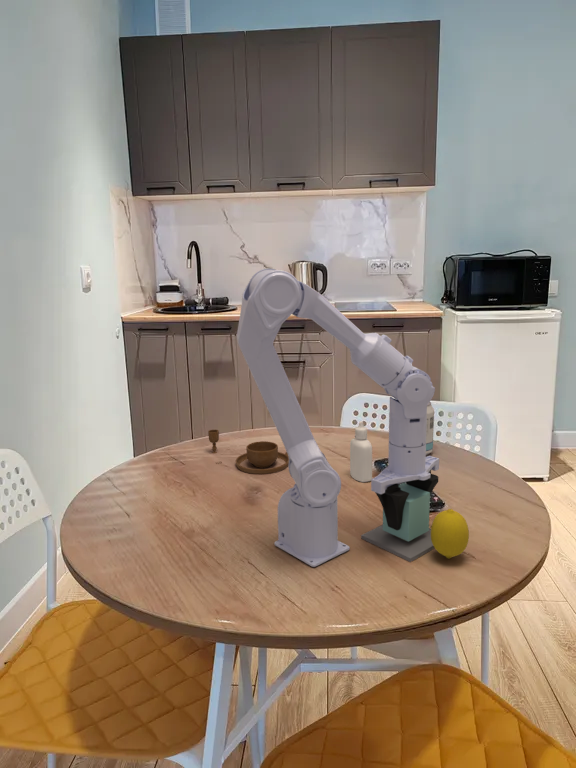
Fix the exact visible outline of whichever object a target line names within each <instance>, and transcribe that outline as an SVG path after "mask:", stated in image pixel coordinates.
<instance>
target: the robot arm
mask: <svg viewBox="0 0 576 768" xmlns="http://www.w3.org/2000/svg"><path fill="white" fill-rule="evenodd" d="M241 295H242V296H241V297H242V298H241V307H240V313H239V321H238V324H237V332H236V341H237V345H238V347H239V349H240V351H241V353H242V357H243V359H244V360H245V363H246V366H247V367H248V369H249V371H250V374H251V376H252V378H253V380H254V382H255V384H256V386H257V389H258V391H259V393H260V395H261V398H262V400H263V401H264V402H263V403H264V404H265V406H266V408H267V411H268V414H269V415H270V417H271V419H272V421H273V424H274V426H275V429H276V431H277V433H278V435H279V436H280V439H281V442H282V443H283V446H284V449H285V451H286V452H287V454H288V457H289V464H288V472H289V475H290V477H291V478H292V480H293V481H294V483H295V484H293V487H291V488H289V489H287V490H285V491H284V492H283V493H282V495H281V496H280V498H279V501H278V504H277V531H278V534H277V535H278V540H276V541H274V543H273V544H274V546H275V547H278V548H279V549H280V550H283V551H284V552H286V553H288V554H290V555H291V556H293V557H295V558H297V559H299V560H300V561H302V562H304V563H305V564H306V565H308V566H311V567H313V568H315V567H318V566H319V565H321V564H324V563H326V562H327V561H329V560H331V559H334V558H336V557H338V556H339V555H341V554H344V553H346V552H348V551H349V550H350V549H351V547H350V546H349V545H348V544H346V543H344V542H341V541H340V540H338V539H339V537H338V531H339V530H338V524H339V521H338V519H339V518H338V513H339V511H338V496H339V495H340V492H341V489H342V480H341V477H340V475H339V473H338V472H337V471H336V470H335V469H334V468H333V467H332V466H331V464H330V463H329V461H328V459H327V458H326V454H324V453H323V451H321V448H320V447H319V444H318V443H317V441H316V439H315V438H314V435H313V433H312V430H311V428H310V426H309V423H308V421H307V419H306V417H305V414H304V411H303V409H302V407H301V405H300V403H299V400H298V398H297V396H296V393H295V391H294V389H293V387H292V385H291V383H290V379H289V378H288V375H287V373H286V371H285V369H284V366H283V364H282V362H281V360H280V357H279V355H278V353H277V350H276V347H275V346H274V341H275V340H276V337H277V335H278V334H279V332H280V329H281V327H282V325H283V323H284V322H286V320H288V319H289V318H290V316H291V315H292V316H294V317H296V318H300V319H305V320H306V319H308V320H311V321H313V322H314V323H315V324H317V325H318V326H320V328H322V329H323V331H324V330H325V331H326V332H327V333H328V334H329V335H330V336H332V337H334V338H335V339H336V340H337V341H338V342H340V343H341V344H342V345H344V346H345V347H346V348H347V349H349V353H350V362H351V363H352V364H353V365H354V366H355V367H356V368H358V369H359V370H360V371H361V372H363V373H364V374H365V375H366V376H367V377H369V378H370V379H371V381H373V382H375V383H376V384H377V385H378V386H380V387H381V388H383V389H384V391H385V393H386V394H387V395H389V396H390V397H389V413H388V460H387V461H388V463H387V466H386V467H385V468H384V469H383V470H382V471H381V472H380V473H379V474H378V475H376V476H375V477H372V479H371V481H370V482H371V483H370V487H371V489H370V490H371V492H374V493H375V494H376V496H377V498H378V500H379V502H380V504H381V506H382V511H383V510H384V513H385V516H386V520H387V524H388V527H390V528H393V529H395V530H400V528H401V525H402V517H403V509H404V505H405V502H406V499H407V497H408V495H409V493H408V492H405V491H402V490H401V488H400V487H399V485H401V484H403V483H405V484H407V485H410V486H413V487H416V488H419V489H421V490H424V491H427V492H430V496H431V495H432V493H433V491H434V489H435V488H436V486H437V484H438V483H439V476H438V475H436V474H433V473H432V471H438V470H440V458H439V457H435V456H432V455H427V456H426V430H427V405H428V403H429V402H431V400H432V399H433V397H434V395H435V392H436V387H435V386H434V385H433V382H432V381H431V380H432V378H431V376H430V375H429V374H428V373H427V372H425V370H422V369H419V368H418V367H416V366H413V362H414V359H413V358H412V357H410V356H409V355H404V354H402V353H401V352H400V351H399V350H397V348H395V347H394V346H393V345H392V344H391V342H392V338H390V337H389V336H388V335H386V334H382V335H380V334H379V333H378V332H370V333H364V332H363V331H362V329H361V330H360V329H359V328H358V327H357V326H356V325H355V324H354V323H353V322H352V321H351V320H350V319H348V318H347V317H346V316H345V315H344V314H343V313H342V312H341V311H340V310H338V308H337V307H336V306H335V305H333V304H332V302H330V301H329V300H327V298H325V296H323V294H321V293H320V292H318V291H317V290H315V289H314V288H312V287H311V286H310V285H308V284H307V283H304V282H303V281H301V280H298V279H297V278H296V277H295V276H294V275H293V274H292V273H290V272H288V271H286V270H281V269H275V268H267V267H266V268H263V269H260V270H257V271H256V272H255V273H254V274H253V275H252V276H251V278H250V279H249V281H248V283H247V285H246V286H245V289H244V290H243V292H242V294H241ZM286 452H285V453H286Z"/></svg>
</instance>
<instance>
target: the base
mask: <svg viewBox="0 0 576 768" xmlns="http://www.w3.org/2000/svg"><path fill="white" fill-rule="evenodd" d="M360 536H361V537H360V539H361V540H363V541H366V542H368V543H370V544H372V545H374V546H376V547H378V548H380V549H382V550H385V551H387V552H389V553H391V554H393V555H395V556H397V557H399V558H401V559H403V560H405V561H408V562H410V563H412V562H413V561H415V560H416V559H418V557H419V558H420V557H422V556H424V555H425V554H427V553H429V552H431V551H432V549H433V550H434V549H435V548H434V546H433V544H432V541H431V527H429V531H427V532H425V533H424V534H422V535H420V536H418V537H416V538H414V539H412V540H411V541H409V542H408V541H405V540H402V539H400V538H398V537H396V536H394V535H393V534H390V533H388V532H386V531H384V530H383V524H381V525H379V526H377V527H375V528H374V529H371V530H369V531H366V532H364V533H362V534H361V535H360ZM411 561H412V562H411Z"/></svg>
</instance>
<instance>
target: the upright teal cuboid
mask: <svg viewBox="0 0 576 768" xmlns="http://www.w3.org/2000/svg"><path fill="white" fill-rule="evenodd" d="M399 487H400V488H401V490H402V491H405V492H408V493H409V495H408V497H407V499H406V502H405V505H404V509H403V517H402V525H401V528H400V530H395V529H393V528H390V527H388V524H387V520H386V516H385V513H384V510H383V509H382V525H383V530H384V531H386V532H388V533H390V534H393V535H395V536H397V537H399V538H401V539H404V540H406V541H408V542H409V541H411V540H412V539H414V538H416V537H418V536H420V535H422V534H424V533H425V532H427V531H429V528H430V507H431V506H430V504H431V503H430V500H431V495H430V492H427V491H424V490H421V489H419V488H416V487H413V486H410V485H407V483H406V482H403V483H400V484H399Z"/></svg>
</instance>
